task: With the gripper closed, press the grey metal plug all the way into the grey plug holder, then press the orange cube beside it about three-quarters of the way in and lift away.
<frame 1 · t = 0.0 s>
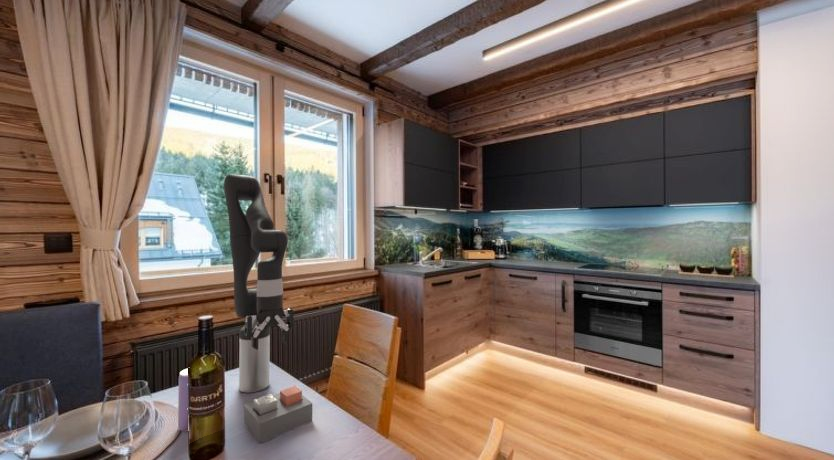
hand: (270, 345, 102), 17 cm above the table, tool pointing down, fingers open, 8 cm apart
grey plug holder: (278, 422, 91), on the table
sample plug: (265, 408, 88), point 5 cm above the table, slide at 0.0 cm
beverage can: (191, 426, 89), on the table
orange cube: (290, 398, 93), point 5 cm above the table, slide at 0.0 cm
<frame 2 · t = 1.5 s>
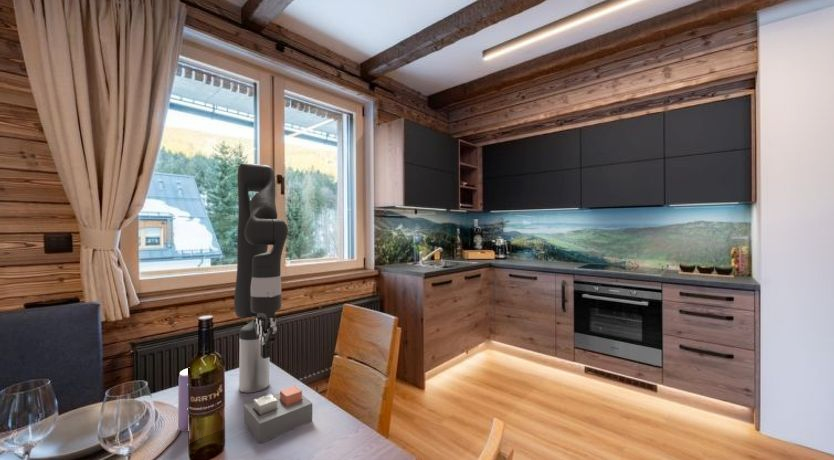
hand: (265, 357, 88), 19 cm above the table, tool pointing down, fingers closed
nothing on the table moved.
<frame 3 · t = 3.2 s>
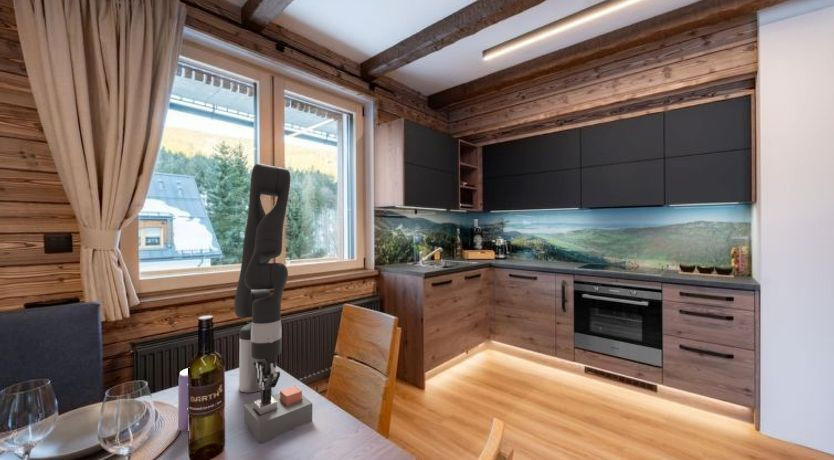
hand: (266, 401, 88), 7 cm above the table, tool pointing down, fingers closed
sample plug: (265, 409, 88), point 5 cm above the table, slide at 0.5 cm, touching gripper
everything else where it was.
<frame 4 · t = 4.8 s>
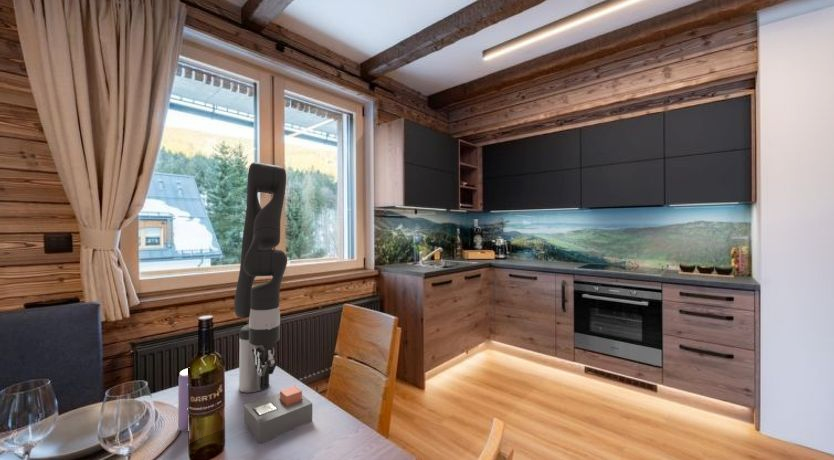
hand: (263, 387, 88), 11 cm above the table, tool pointing down, fingers closed
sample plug: (265, 416, 88), point 3 cm above the table, slide at 2.4 cm
everything else where it was.
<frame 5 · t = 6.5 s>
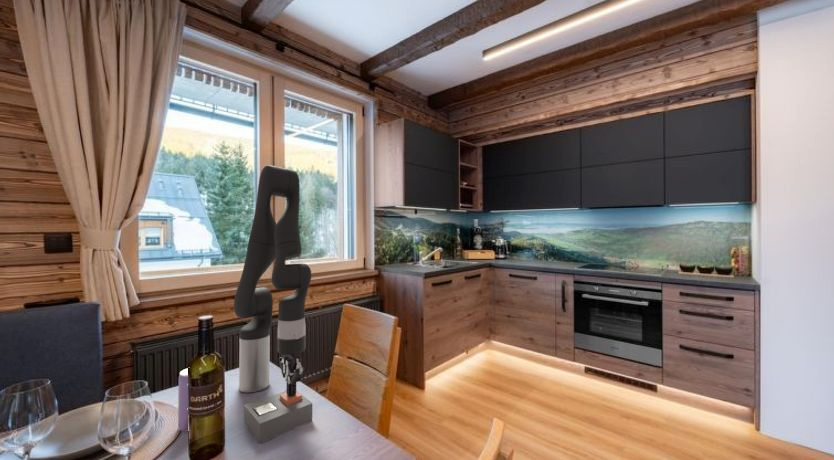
hand: (291, 394, 93), 6 cm above the table, tool pointing down, fingers closed
orange cube: (290, 402, 93), point 4 cm above the table, slide at 1.2 cm, touching gripper
everything else where it was.
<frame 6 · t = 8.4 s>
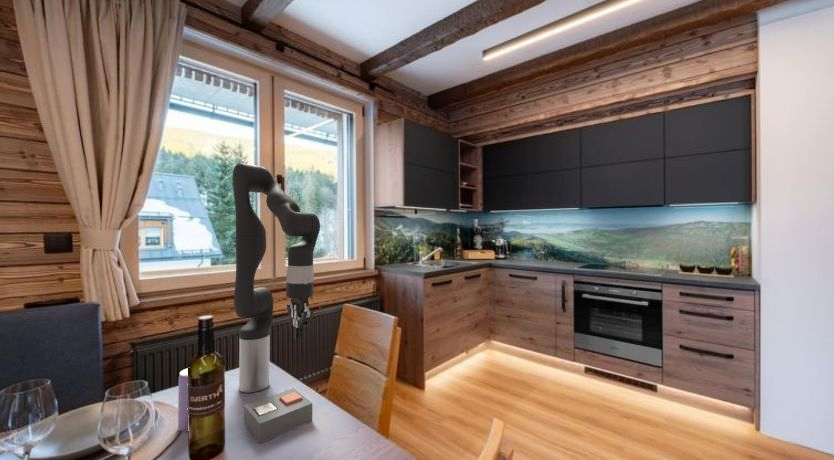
hand: (298, 339, 96), 21 cm above the table, tool pointing down, fingers closed
orange cube: (290, 404, 93), point 3 cm above the table, slide at 1.8 cm
everything else where it was.
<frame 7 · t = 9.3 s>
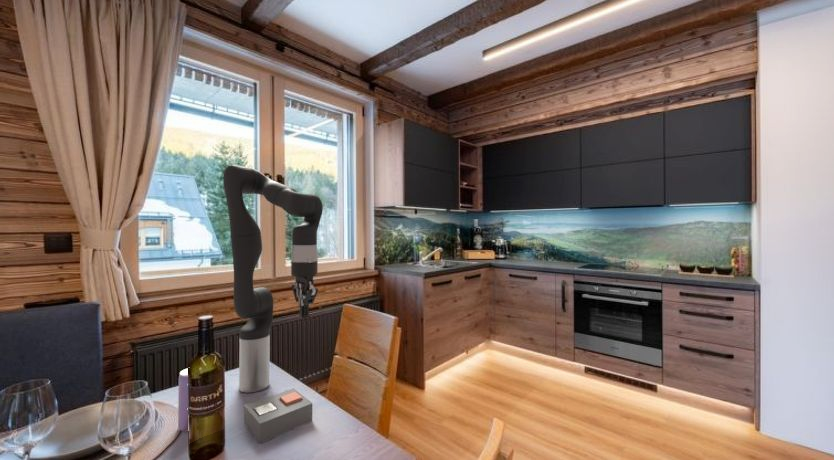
hand: (304, 317, 99), 27 cm above the table, tool pointing down, fingers closed
nothing on the table moved.
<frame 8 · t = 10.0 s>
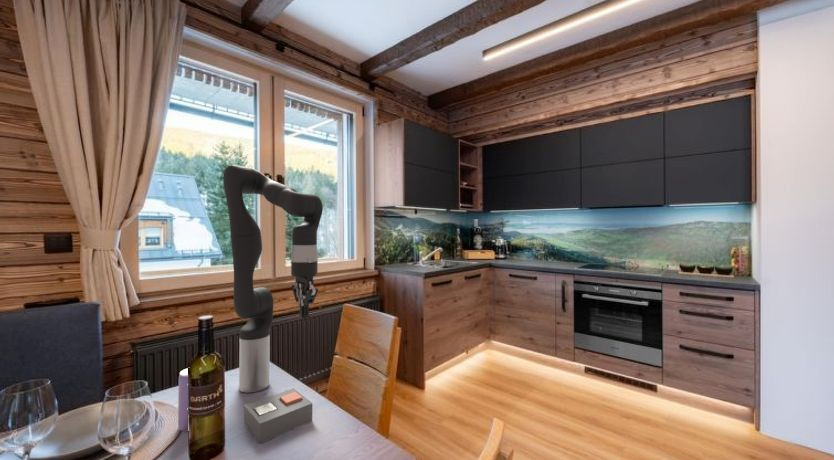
hand: (304, 317, 99), 27 cm above the table, tool pointing down, fingers closed
nothing on the table moved.
at the end: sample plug slide at 2.4 cm; orange cube slide at 1.8 cm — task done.
